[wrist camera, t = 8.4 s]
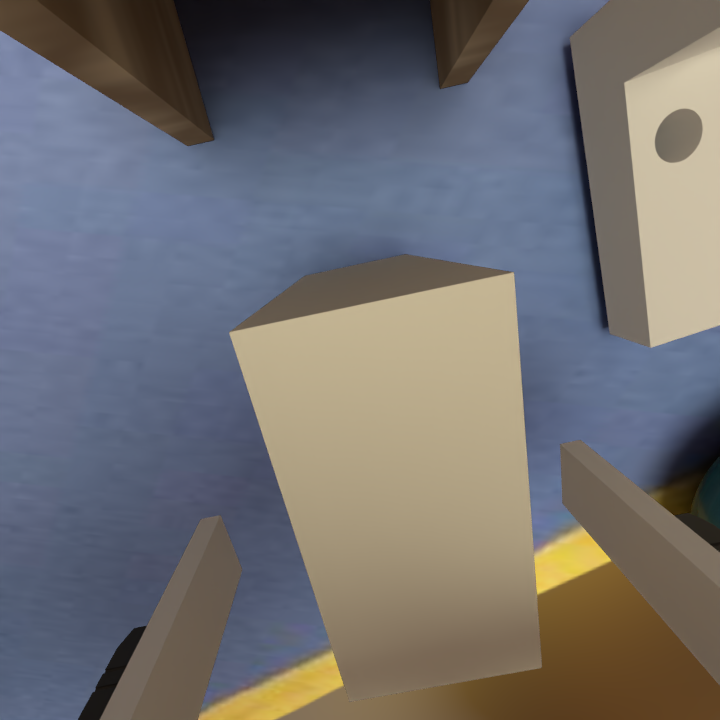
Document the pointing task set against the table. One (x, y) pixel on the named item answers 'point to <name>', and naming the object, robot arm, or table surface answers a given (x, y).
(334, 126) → the table surface
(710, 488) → the vase
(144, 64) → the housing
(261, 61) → the table surface
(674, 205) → the bracket
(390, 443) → the tan cardboard carton
